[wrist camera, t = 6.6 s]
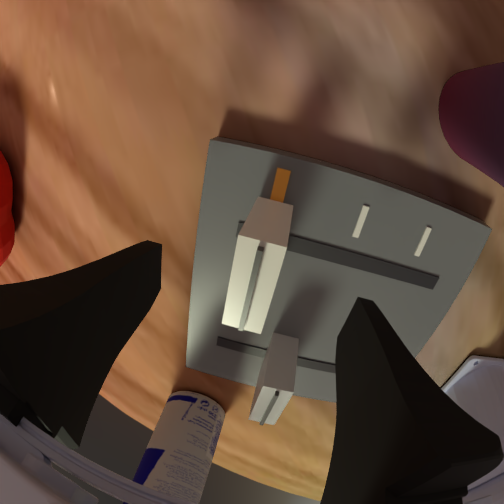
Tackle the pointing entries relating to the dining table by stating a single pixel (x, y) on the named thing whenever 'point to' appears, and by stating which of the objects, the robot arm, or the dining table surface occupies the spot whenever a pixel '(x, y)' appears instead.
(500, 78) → the cup
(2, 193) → the tomato
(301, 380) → the console
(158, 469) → the beverage can
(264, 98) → the dining table surface
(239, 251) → the fader tab
